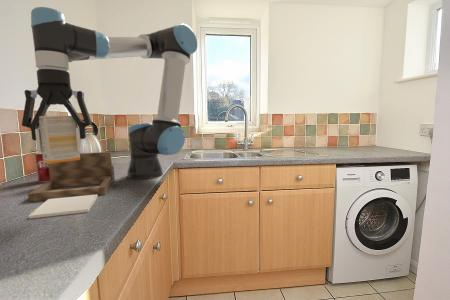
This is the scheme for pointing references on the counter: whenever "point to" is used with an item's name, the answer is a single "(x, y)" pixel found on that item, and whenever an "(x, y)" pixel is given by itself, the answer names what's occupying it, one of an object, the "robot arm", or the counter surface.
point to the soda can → (42, 168)
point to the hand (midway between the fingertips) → (61, 151)
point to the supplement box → (58, 139)
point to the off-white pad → (64, 206)
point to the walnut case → (77, 177)
